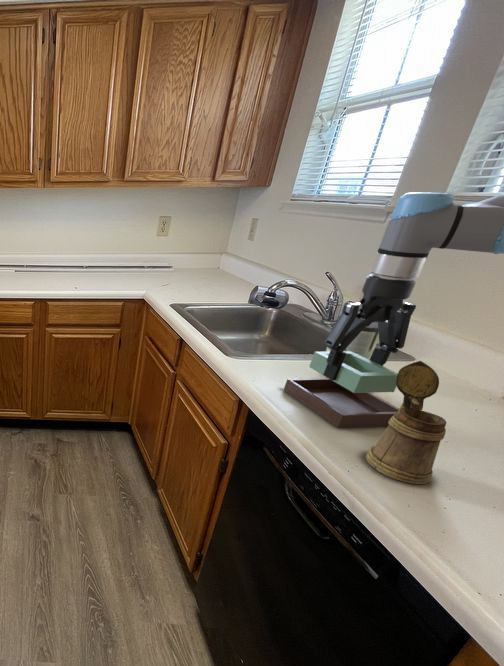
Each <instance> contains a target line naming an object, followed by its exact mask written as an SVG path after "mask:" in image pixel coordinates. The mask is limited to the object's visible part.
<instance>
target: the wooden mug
mask: <svg viewBox="0 0 504 666" xmlns="http://www.w3.org/2000/svg"><path fill="white" fill-rule="evenodd" d="M397 373H398V374H397V379H396V385H397V386H396V389H397V390H398V391H399V392H401V394H402V395H403V398H402V399H403V400H402V403H401V405H400V407H399V411H398V413H397V414H394V415H393V416H392V417H391V418H390V420H389V422H388V423H389V426H386V428H385V430H384V431H383V433H382V434H381V436H380V437H379V438H378V440H377V441H376V443H375V444H374V445H372V446H370V448H369V449H368V451H367V452H366V455H365V460H366V462H367V463H368V465H370V467H372V468H373V469H375V470H376V471H378V472H379V473H381V474H383V475H385V476H387V477H389V478H391V479H394V480H396V481H400V482H404V483H407V484H414V485H425V484H428V483H430V482H431V480H432V476H433V473H434V472H433V471H434V470H433V467H434V463H435V460H436V457H437V453H438V451H439V447H440V444H441V441H443V439H445V435H446V432H447V429H446V425H447V420H446V419H445V418H443V417H442V416H440V415H437V414H434V413H432V412H428V411H425V410H423V408H424V401H425V400H426V399H428V398H431V397H432V396H433V395H435V394H436V393H437V391H438V389H439V386H440V378H439V376H438V373H437V372H436V371H435V369H434V368H432V367H431V366H430V365H428V364H427V363H425V362H423V361H421V360H418V361H415V362H412V363H409V364H407V365H405V366H403V367H401V368H400V369H399V370H398V372H397Z"/></svg>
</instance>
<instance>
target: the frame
mask: <svg viewBox="0 0 504 666" xmlns="http://www.w3.org/2000/svg"><path fill="white" fill-rule="evenodd" d="M343 352H345V353H347V354H346V356H345V358H344V361H343V363H342V366H341V368H340V370H339V373H338V375H337V378H336V380H332V381H334V382H336V383H338V384H339V385H341V386H343V387H344V388H346V389H348V390H350V391H351V392H353V393H372V394H374V393H394V392H395V391H396V389H397V385H396V379H397V374H398V372H397V371H394V370H392V369H390V368H388V367H386V366H384V365H383V366H381V365H379V364H377V363H375V362H373V361H371V360H369V359H367V358H364V357H362V356H360V355H358V354H356V353H354V352H352V351H343ZM329 353H330V351H326V350H325V351H324V350H323V351H322V350H321V351H314V352H313V355H312V358H311V361H310V363H309V368H310V369H312V370H313V371H315V372H317V373H319V374H320V375H322V376H324V375H323V374H324V371H325V369H326V366H327V364H328V363H327V358H328V356H329ZM324 378H328V377H326V376H324Z"/></svg>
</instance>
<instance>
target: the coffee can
mask: <svg viewBox="0 0 504 666" xmlns="http://www.w3.org/2000/svg"><path fill="white" fill-rule="evenodd" d="M339 317H340V315H339V316H337V317H336V320H335V323H336V322H337V320H338V318H339ZM360 319H362V318H360ZM362 320H363V319H362ZM340 345H341V344H339V346H340ZM378 346H379V331H378V322H372V323H371V324H370V325H369V326H366V327H365V328H364V329H363V330H362V331H361V332H360V334H359V335H358V336H357V337H356V338H355V339H354V340H353V341H352V342H351V343H350V345H349V346H348V347H347V348H346V349H345V350H344V351H352V352H354V353H356V354H358V355H360V356H362V357H364V358H367V359H369V360H370V358H371V356H372V353H373V351H374V349H375V348H378ZM325 351H331V349H330V348H328V347H326V348H325Z"/></svg>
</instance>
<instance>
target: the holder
mask: <svg viewBox="0 0 504 666" xmlns="http://www.w3.org/2000/svg"><path fill="white" fill-rule="evenodd" d="M283 391H284V392H285V393H287V394H288V395H290V396H292V398H294V399H295V400H297V401H299V402H300V403H301V404H303V405H304V406H306V407H307V408H308V409H310V410H311V411H313V412H314V413H316V414H317V415H319V416H320V417H321V418H323V419H324V420H325V421H327V422H328V423H330V424H331V425H333V426H334V427H336V428H337V429H338V428H339V429H342V428H344V429H345V428H368V427H369V428H370V427H373V428H374V427H388V426H389V423H388V422H389V420H390V418H391V417H392V416H393V415H394V414H397V413H398V411H399V409H400V407H397V406H395V405H394V404H392V403H390V402H388V401H386V400H385V399H383V398H381V397H379V396H378V395H376V394H374V393H353V392H351V391H350V390H348V389H346V388H344V387H343V386H341V385H339V384H338V383H336V382H334V381H332V380H331V379H329V378H327V377H317V378H315V377H314V378H287V379H286V382H285V385H284V388H283Z"/></svg>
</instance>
